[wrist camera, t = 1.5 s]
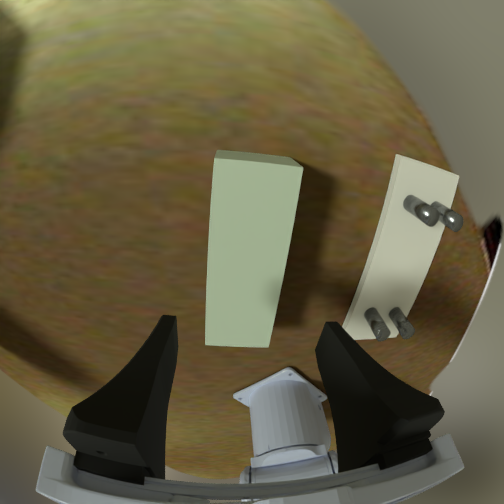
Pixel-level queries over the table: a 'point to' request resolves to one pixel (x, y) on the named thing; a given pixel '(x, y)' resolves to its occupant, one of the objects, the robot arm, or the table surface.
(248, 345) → the pale green block
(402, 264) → the peg stand
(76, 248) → the table surface
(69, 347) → the table surface
